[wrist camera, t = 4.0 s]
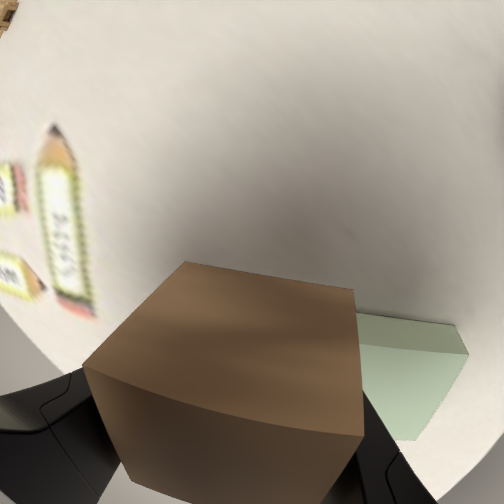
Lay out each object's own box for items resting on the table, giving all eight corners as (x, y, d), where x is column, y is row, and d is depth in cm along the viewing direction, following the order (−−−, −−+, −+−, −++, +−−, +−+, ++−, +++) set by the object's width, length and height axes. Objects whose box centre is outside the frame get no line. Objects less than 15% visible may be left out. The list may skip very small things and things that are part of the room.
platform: (454, 325, 16) (469, 354, 14) (410, 410, 19) (415, 440, 17) (335, 309, 18) (335, 340, 15) (309, 400, 21) (305, 432, 18)
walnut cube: (353, 289, 9) (364, 435, 4) (318, 405, 10) (301, 526, 6) (185, 261, 9) (81, 364, 5) (189, 379, 11) (131, 480, 7)
